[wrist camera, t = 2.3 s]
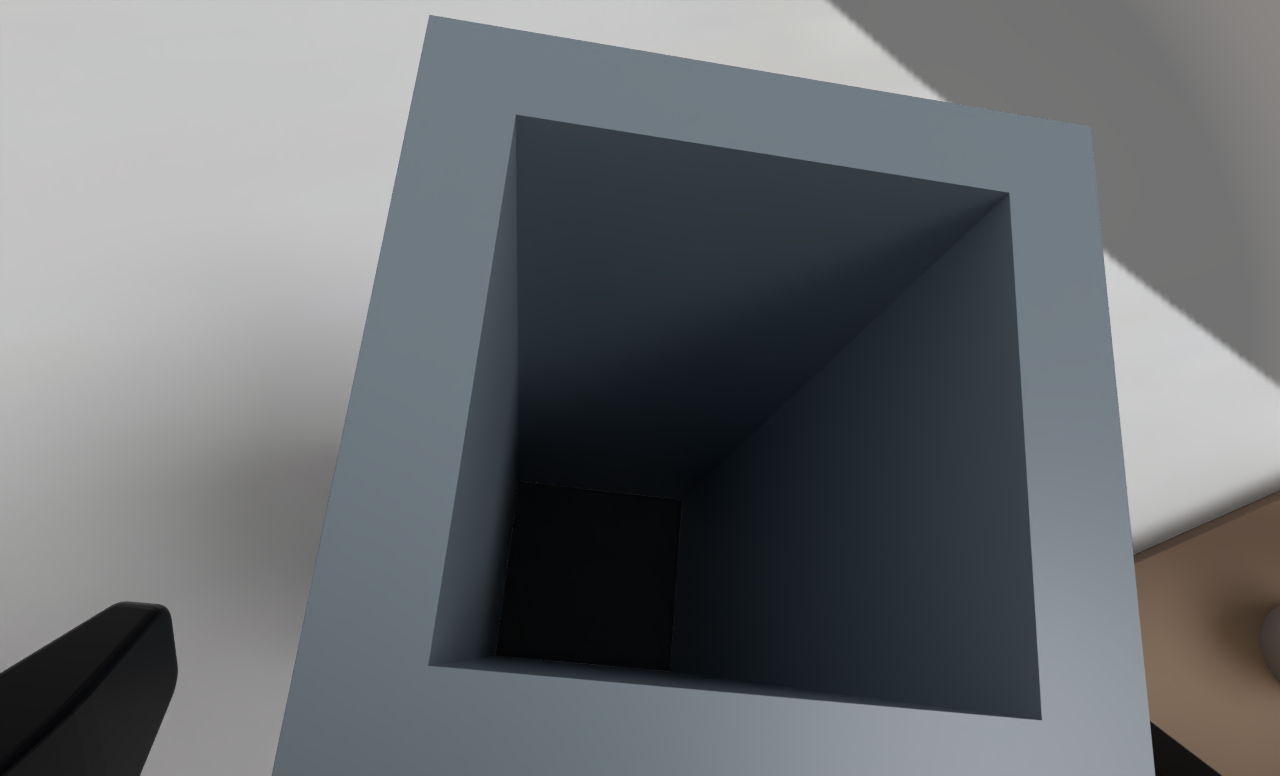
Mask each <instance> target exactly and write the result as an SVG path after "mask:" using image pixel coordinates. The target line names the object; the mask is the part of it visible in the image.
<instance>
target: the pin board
mask: <svg viewBox="0 0 1280 776" xmlns="http://www.w3.org/2000/svg"><path fill="white" fill-rule="evenodd" d="M1133 557H1134V567H1135V577H1136V587H1137V597H1138V607H1139V617H1140V628H1141V638H1142V648H1143V658H1144V668H1145V678H1146V688H1147V698H1148V708H1149V718H1150V721H1151V722H1152V723H1154V724H1155V725H1156V726H1158V727H1159V728H1160V729H1162V730H1163V731H1164V732H1166V733H1167V734H1168V735H1170V736H1171V737H1172V738H1173V739H1175V740H1176V741H1177V742H1179V743H1180V744H1181V745H1183V746H1184V747H1185V748H1187V749H1188V750H1189V751H1191V752H1192V753H1193V754H1195V755H1196V756H1197V757H1198V758H1200V759H1201V760H1202V761H1204V762H1205V763H1206V764H1208V765H1209V766H1210V767H1212V768H1213V769H1214V770H1216V771H1217V772H1218V773H1220V774H1221V775H1222V776H1280V491H1278V492H1276V493H1273V494H1271V495H1269V496H1267V497H1264V498H1262V499H1260V500H1258V501H1255V502H1253V503H1251V504H1249V505H1246V506H1244V507H1242V508H1240V509H1237V510H1235V511H1233V512H1231V513H1228V514H1226V515H1224V516H1222V517H1219V518H1217V519H1215V520H1212V521H1210V522H1208V523H1206V524H1203V525H1201V526H1199V527H1197V528H1194V529H1192V530H1190V531H1188V532H1185V533H1183V534H1181V535H1179V536H1176V537H1174V538H1172V539H1170V540H1167V541H1165V542H1163V543H1161V544H1158V545H1156V546H1154V547H1152V548H1149V549H1147V550H1145V551H1143V552H1140V553H1138V554H1136V555H1134V556H1133Z"/></svg>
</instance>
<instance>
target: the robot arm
mask: <svg viewBox="0 0 1280 776" xmlns="http://www.w3.org/2000/svg"><path fill="white" fill-rule="evenodd" d="M177 675H178V664H177V657H176V649H175V641H174V634H173V626H172V619H171V615H170V612H169V610H168V609H167V608H166V607H165V606H163V605H160V604H150V603H139V602H128V601H126V602H119V603H116V604H114V605H112V606H110V607H108V608H107V609H105V610H103V611H102V612H100V613H98V614H97V615H95V616H93V617H92V618H90V619H88V620H87V621H85V622H84V623H82V624H80V625H79V626H77V627H75V628H74V629H72V630H70V631H69V632H67V633H66V634H64V635H62V636H61V637H59V638H57V639H56V640H54V641H52V642H51V643H49V644H47V645H46V646H44V647H43V648H41V649H39V650H38V651H36V652H34V653H33V654H31V655H29V656H28V657H26V658H24V659H23V660H21V661H20V662H18V663H16V664H15V665H13V666H11V667H10V668H8V669H6V670H5V671H3V672H1V673H0V776H140V774H141V772H142V769H143V767H144V764H145V762H146V760H147V757H148V755H149V752H150V750H151V747H152V745H153V742H154V740H155V737H156V735H157V733H158V730H159V728H160V725H161V723H162V720H163V718H164V715H165V713H166V711H167V708H168V706H169V703H170V701H171V698H172V696H173V693H174V690H175V686H176V682H177ZM1150 728H1151V738H1152V748H1153V758H1154V768H1155V776H1222V775H1221V774H1220V773H1218V772H1217V771H1216V770H1214V769H1213V768H1212V767H1210V766H1209V765H1208V764H1206V763H1205V762H1204V761H1202V760H1201V759H1200V758H1198V757H1197V756H1196V755H1195V754H1193V753H1192V752H1191V751H1189V750H1188V749H1187V748H1185V747H1184V746H1183V745H1181V744H1180V743H1179V742H1177V741H1176V740H1175V739H1173V738H1172V737H1171V736H1170V735H1168V734H1167V733H1166V732H1164V731H1163V730H1162V729H1160V728H1159V727H1158V726H1156V725H1155V724H1154V723H1152V722H1151V721H1150Z"/></svg>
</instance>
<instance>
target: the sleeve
mask: <svg viewBox="0 0 1280 776" xmlns="http://www.w3.org/2000/svg"><path fill="white" fill-rule="evenodd" d="M519 482H526V483H534V484H543V485H552V486H561V487H570V488H579V489H588V490H597V491H605V492H614V493H623V494H632V495H641V496H650V497H659V498H667V499H676V500H682V505H681V519H680V533H679V547H678V561H677V575H676V589H675V603H674V617H673V631H672V645H671V659H670V671H662V670H651V669H640V668H629V667H618V666H607V665H596V664H585V663H574V662H563V661H552V660H541V659H530V658H519V657H508V656H497V655H496V649H497V642H498V634H499V627H500V619H501V612H502V605H503V597H504V590H505V582H506V575H507V568H508V560H509V553H510V545H511V538H512V531H513V523H514V516H515V508H516V501H517V494H518V486H519ZM272 776H1155V768H1154V758H1153V748H1152V738H1151V728H1150V718H1149V708H1148V698H1147V688H1146V678H1145V668H1144V658H1143V648H1142V638H1141V628H1140V617H1139V607H1138V597H1137V587H1136V577H1135V567H1134V557H1133V547H1132V537H1131V527H1130V517H1129V507H1128V497H1127V487H1126V477H1125V467H1124V457H1123V447H1122V437H1121V427H1120V417H1119V407H1118V397H1117V387H1116V377H1115V367H1114V357H1113V347H1112V337H1111V327H1110V317H1109V307H1108V297H1107V287H1106V277H1105V267H1104V257H1103V247H1102V237H1101V228H1100V217H1099V207H1098V197H1097V187H1096V177H1095V167H1094V157H1093V147H1092V137H1091V128H1090V126H1083V125H1078V124H1072V123H1066V122H1060V121H1054V120H1048V119H1042V118H1036V117H1030V116H1025V115H1019V114H1013V113H1006V112H1001V111H995V110H989V109H983V108H977V107H970V106H965V105H959V104H953V103H948V102H942V101H936V100H930V99H924V98H918V97H912V96H906V95H900V94H894V93H888V92H882V91H877V90H871V89H865V88H859V87H853V86H847V85H841V84H835V83H829V82H823V81H817V80H811V79H805V78H800V77H794V76H788V75H782V74H776V73H770V72H764V71H758V70H752V69H746V68H740V67H734V66H729V65H723V64H717V63H711V62H705V61H699V60H693V59H687V58H681V57H675V56H669V55H663V54H657V53H652V52H646V51H640V50H634V49H628V48H622V47H616V46H610V45H604V44H598V43H592V42H586V41H581V40H575V39H569V38H563V37H557V36H551V35H545V34H539V33H533V32H527V31H521V30H515V29H509V28H504V27H498V26H492V25H486V24H480V23H474V22H468V21H462V20H456V19H450V18H444V17H438V16H433V15H429V20H428V25H427V30H426V34H425V39H424V44H423V49H422V54H421V59H420V63H419V68H418V73H417V78H416V83H415V87H414V92H413V97H412V102H411V107H410V112H409V116H408V121H407V126H406V131H405V136H404V140H403V145H402V150H401V155H400V160H399V165H398V169H397V174H396V179H395V184H394V189H393V193H392V198H391V203H390V208H389V213H388V218H387V222H386V227H385V232H384V237H383V242H382V247H381V251H380V256H379V261H378V266H377V271H376V275H375V280H374V285H373V290H372V295H371V300H370V304H369V309H368V314H367V319H366V324H365V328H364V333H363V338H362V343H361V348H360V353H359V357H358V362H357V367H356V372H355V377H354V381H353V386H352V391H351V396H350V401H349V406H348V410H347V415H346V420H345V425H344V430H343V434H342V439H341V444H340V449H339V454H338V459H337V463H336V468H335V473H334V478H333V483H332V487H331V492H330V497H329V502H328V507H327V512H326V516H325V521H324V526H323V531H322V536H321V541H320V545H319V550H318V555H317V560H316V565H315V569H314V574H313V579H312V584H311V589H310V594H309V598H308V603H307V608H306V613H305V618H304V622H303V627H302V632H301V637H300V642H299V647H298V651H297V656H296V661H295V666H294V671H293V675H292V680H291V685H290V690H289V695H288V700H287V704H286V709H285V714H284V719H283V724H282V728H281V733H280V738H279V743H278V748H277V753H276V757H275V762H274V767H273V772H272Z"/></svg>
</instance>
